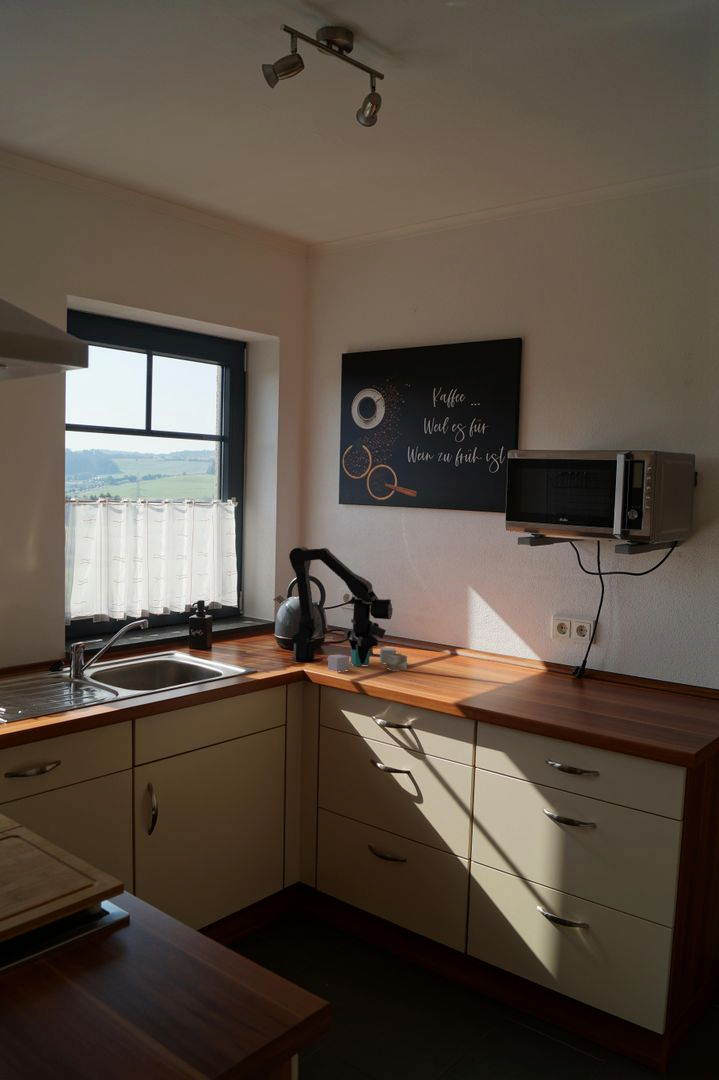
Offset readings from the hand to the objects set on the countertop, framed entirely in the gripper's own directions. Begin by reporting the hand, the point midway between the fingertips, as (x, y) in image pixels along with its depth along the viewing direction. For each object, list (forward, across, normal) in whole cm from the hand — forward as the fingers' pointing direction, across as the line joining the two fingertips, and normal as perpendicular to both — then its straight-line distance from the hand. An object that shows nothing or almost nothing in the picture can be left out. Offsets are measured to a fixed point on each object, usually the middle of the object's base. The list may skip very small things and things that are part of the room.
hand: (359, 662), depth 302 cm
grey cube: (+1, +2, -11) cm, 11 cm away
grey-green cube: (+1, -9, -10) cm, 13 cm away
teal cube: (+1, 0, 0) cm, 1 cm away
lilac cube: (+1, -7, +10) cm, 12 cm away
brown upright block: (+1, +18, -7) cm, 19 cm away
